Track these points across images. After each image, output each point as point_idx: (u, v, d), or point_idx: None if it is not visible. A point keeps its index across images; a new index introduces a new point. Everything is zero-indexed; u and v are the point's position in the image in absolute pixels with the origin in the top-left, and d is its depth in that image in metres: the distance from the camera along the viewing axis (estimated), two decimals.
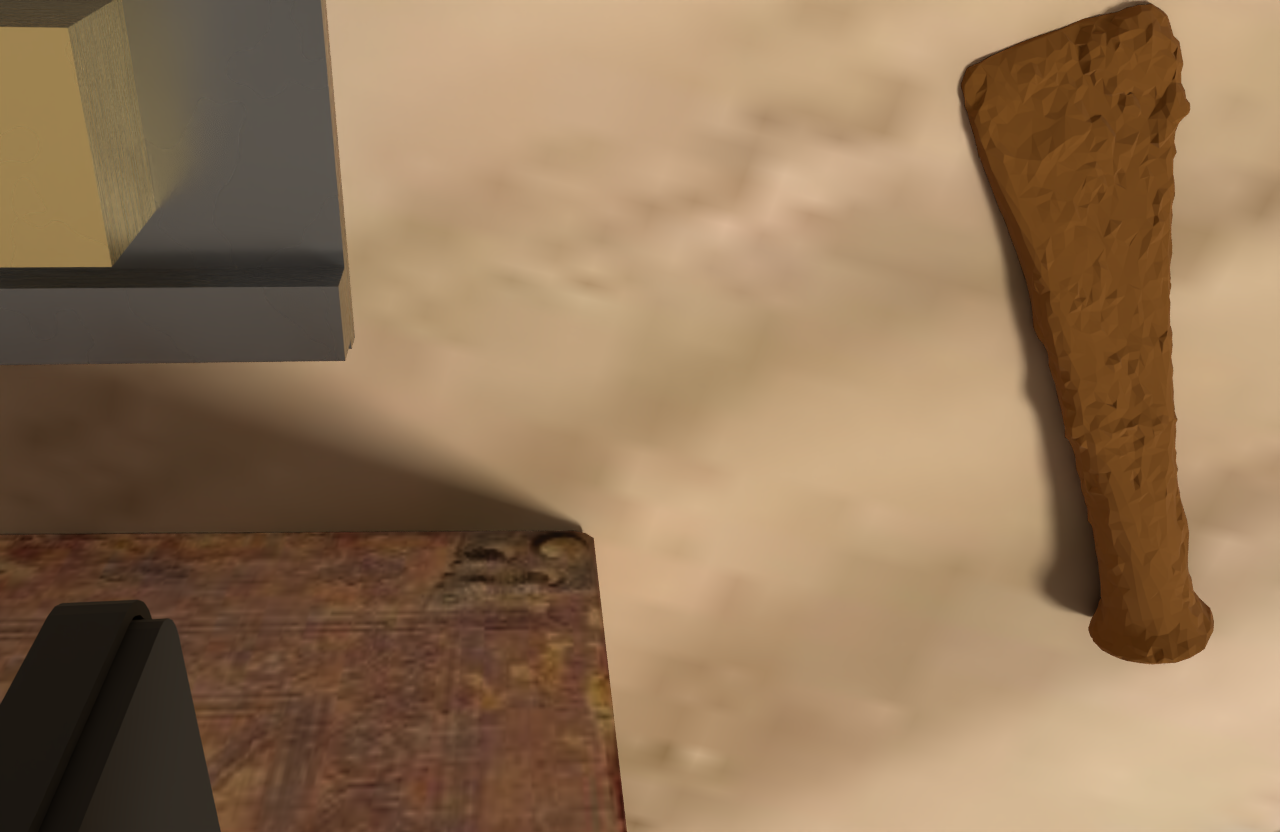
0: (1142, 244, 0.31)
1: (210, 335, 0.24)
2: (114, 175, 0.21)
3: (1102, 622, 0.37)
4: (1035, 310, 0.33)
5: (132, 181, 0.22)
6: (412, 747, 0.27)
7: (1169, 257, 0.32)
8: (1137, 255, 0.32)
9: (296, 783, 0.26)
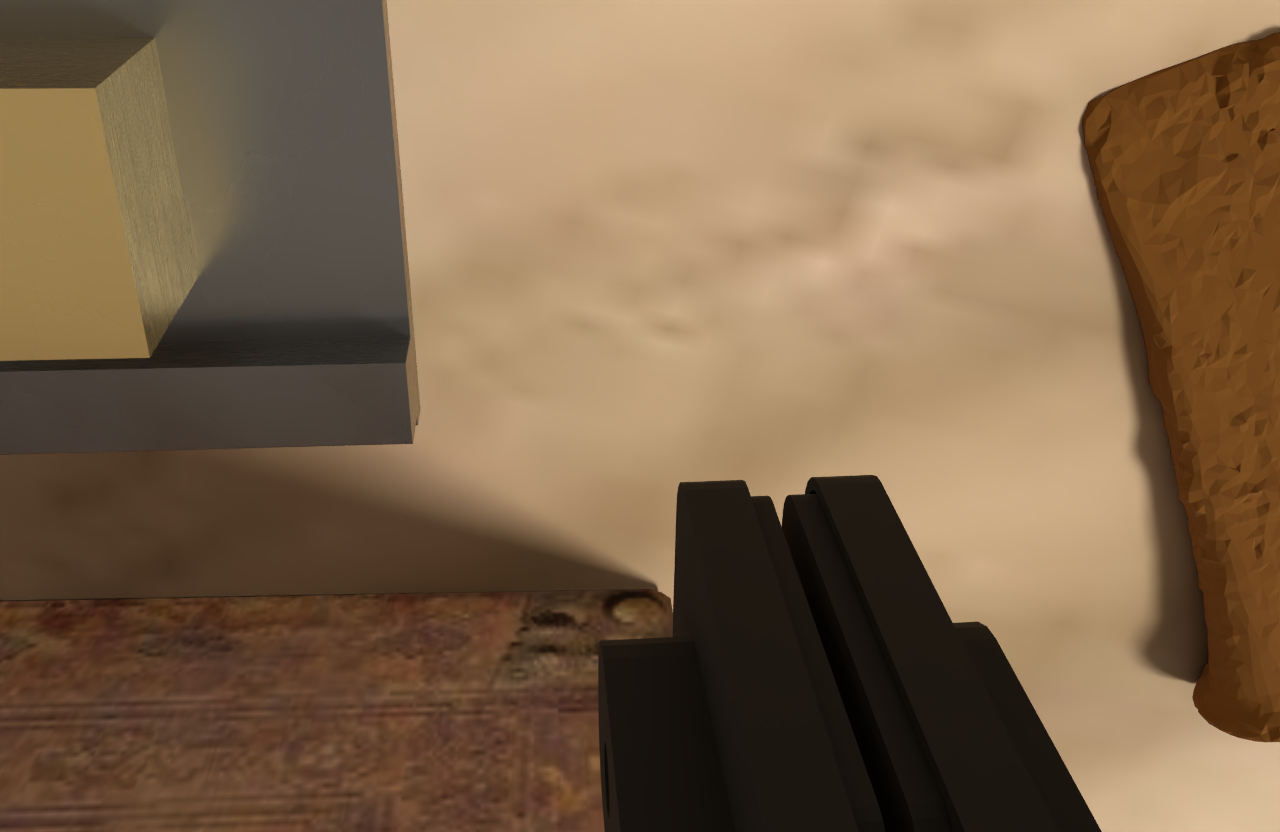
0: (1278, 295, 0.28)
1: (260, 418, 0.21)
2: (150, 250, 0.18)
3: (1210, 692, 0.34)
4: (1153, 365, 0.29)
5: (171, 251, 0.19)
6: None
7: None
8: (1271, 307, 0.28)
9: None
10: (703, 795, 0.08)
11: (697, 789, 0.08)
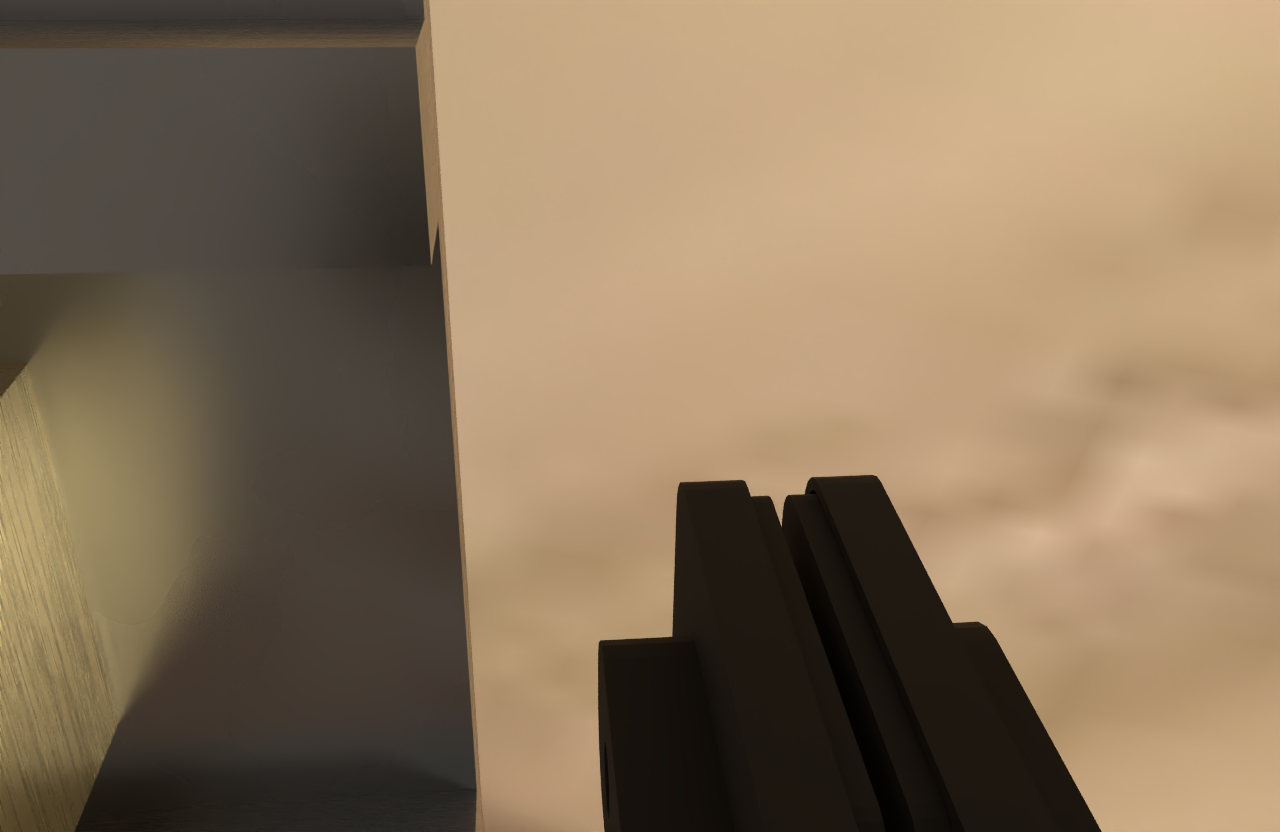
0: None
1: None
2: (14, 776, 0.10)
3: None
4: None
5: (62, 731, 0.11)
6: None
7: None
8: None
9: None
10: (703, 795, 0.08)
11: (697, 789, 0.08)
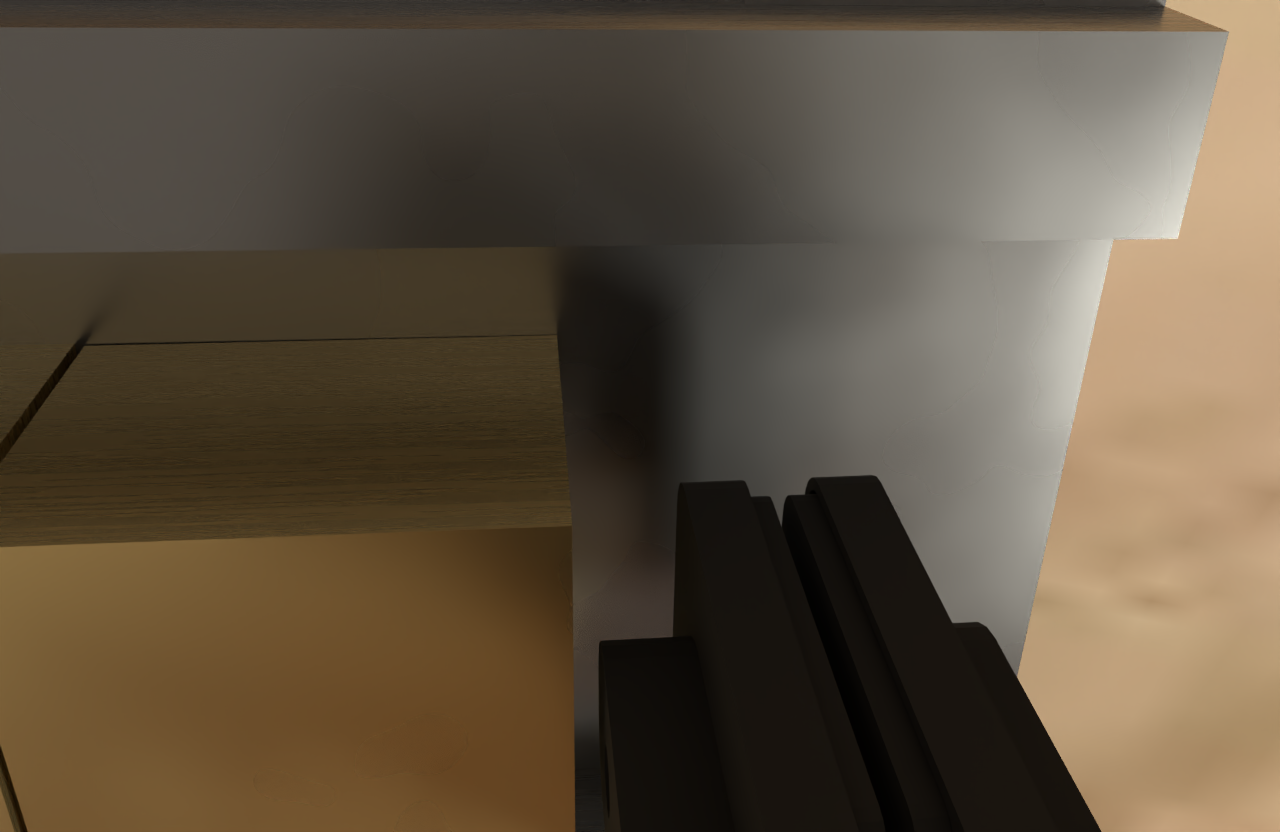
0: None
1: None
2: None
3: None
4: None
5: None
6: None
7: None
8: None
9: None
10: (704, 795, 0.08)
11: (698, 789, 0.08)
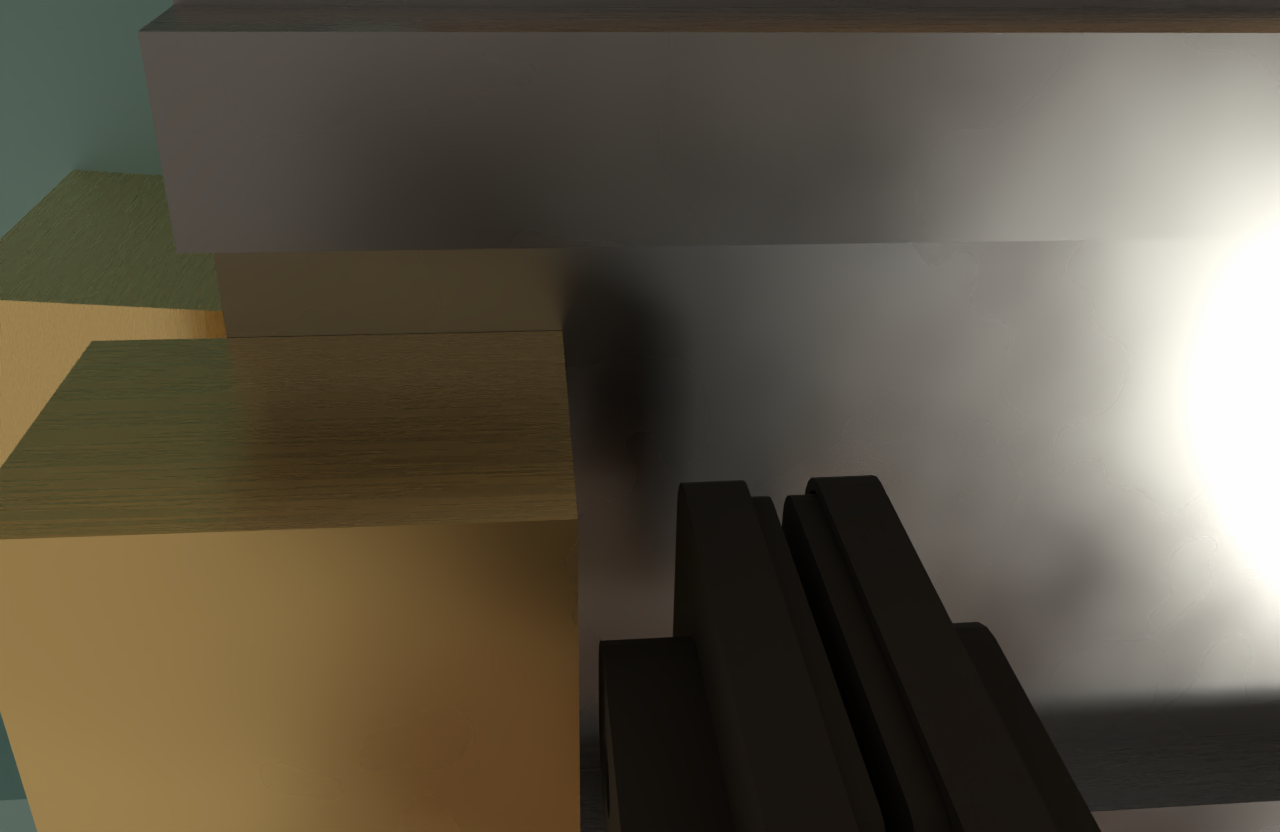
0: None
1: None
2: None
3: None
4: None
5: None
6: None
7: None
8: None
9: None
10: (704, 795, 0.08)
11: (698, 789, 0.08)
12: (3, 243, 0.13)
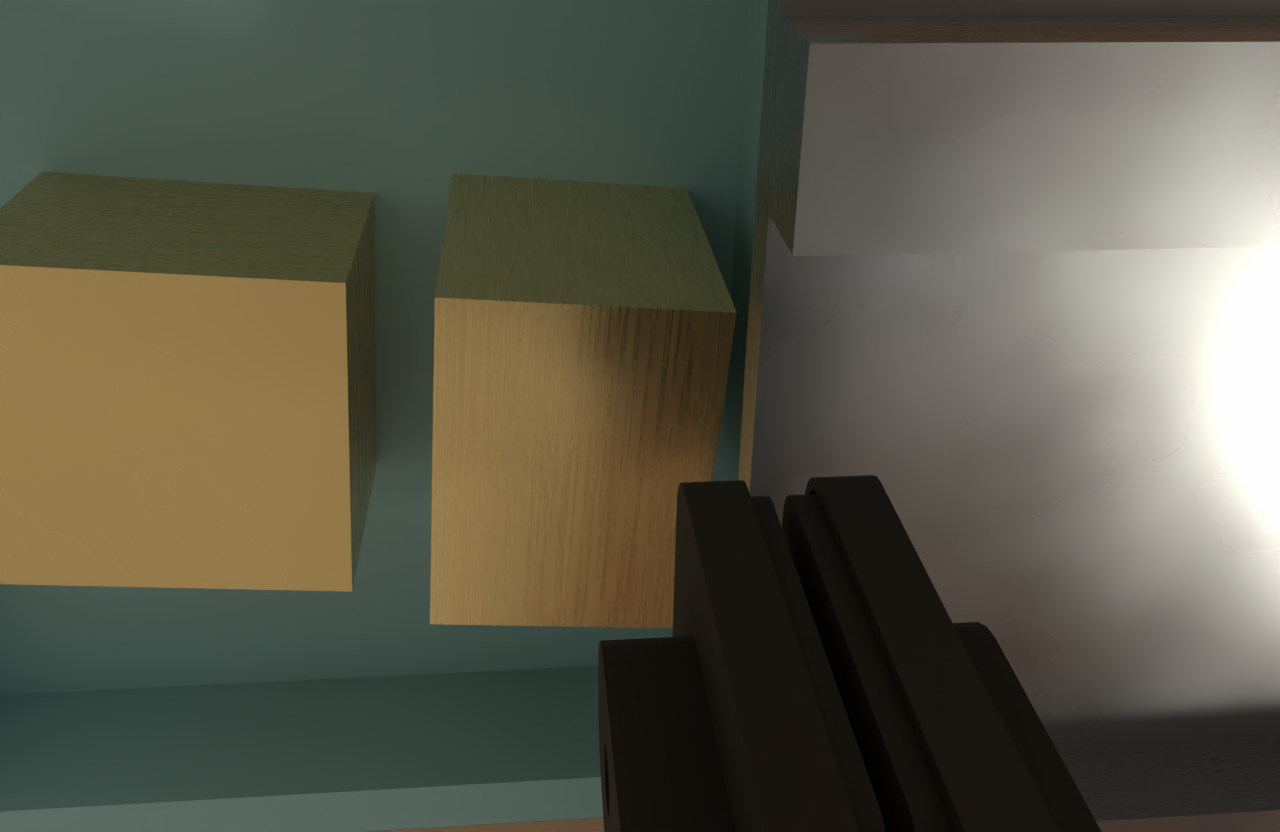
0: None
1: None
2: None
3: None
4: None
5: None
6: None
7: None
8: None
9: None
10: (703, 795, 0.08)
11: (697, 789, 0.08)
12: (449, 245, 0.13)
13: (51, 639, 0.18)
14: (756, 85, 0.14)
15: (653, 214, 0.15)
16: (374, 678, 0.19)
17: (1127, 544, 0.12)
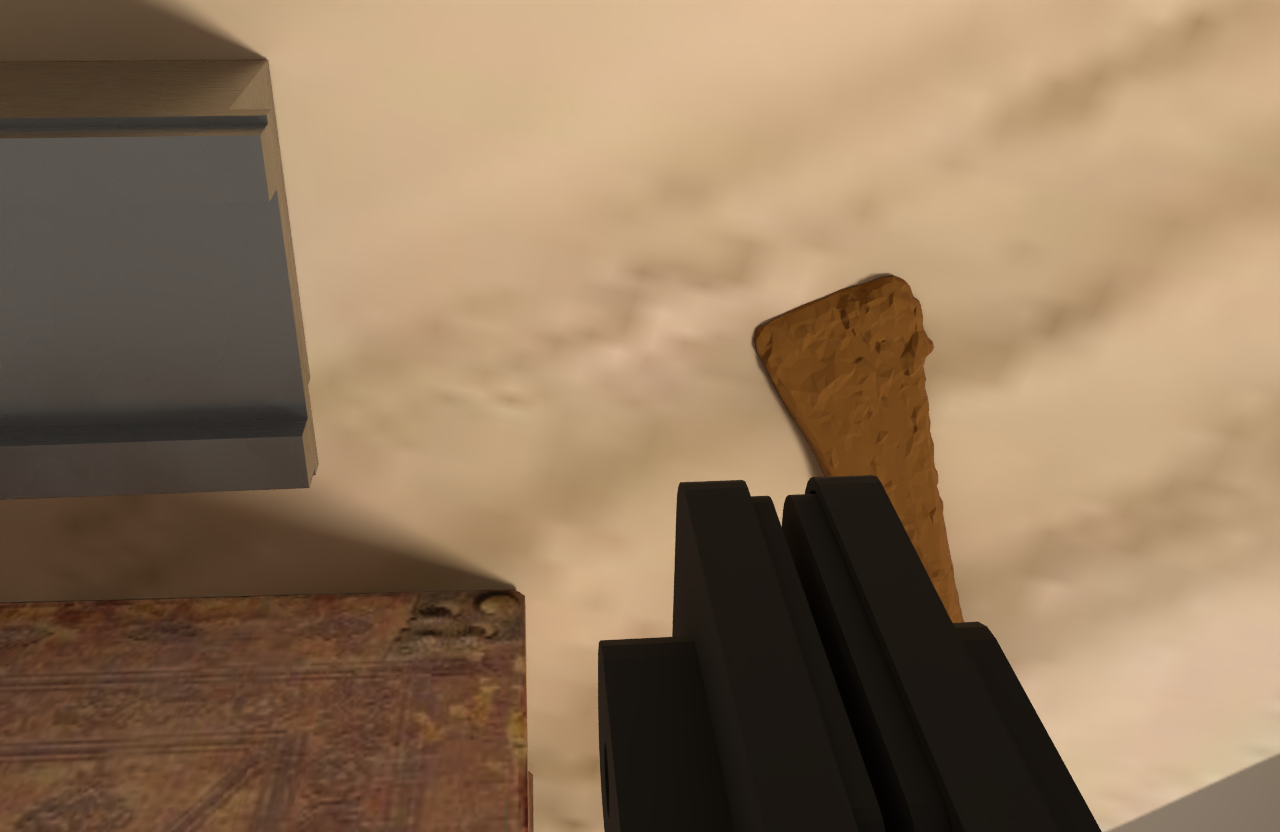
0: (906, 447, 0.41)
1: (208, 472, 0.32)
2: None
3: None
4: None
5: None
6: (369, 773, 0.35)
7: (930, 454, 0.41)
8: (904, 455, 0.41)
9: (280, 801, 0.34)
10: (704, 795, 0.08)
11: (698, 789, 0.08)
12: None
13: None
14: None
15: None
16: None
17: None
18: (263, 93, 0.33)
